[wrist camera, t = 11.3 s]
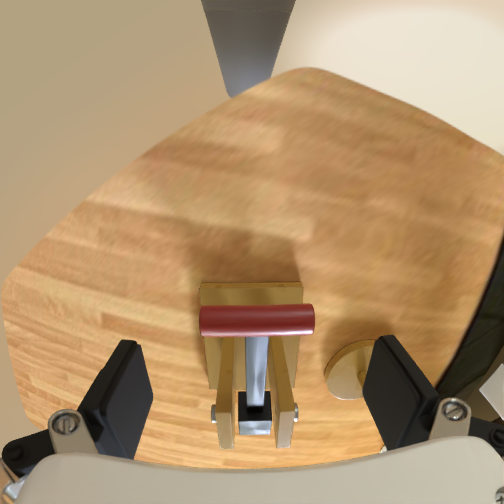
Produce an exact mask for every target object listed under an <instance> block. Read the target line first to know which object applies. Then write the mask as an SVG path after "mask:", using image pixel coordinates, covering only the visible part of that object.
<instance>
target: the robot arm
mask: <svg viewBox="0 0 504 504" xmlns="http://www.w3.org/2000/svg"><path fill="white" fill-rule="evenodd" d="M362 394H363V397H364V399H365V401H366V404H367V406H368V408H369V410H370V412H371V415H372V417H373V419H374V421H375V424H376V426H377V428H378V430H379V433H380V435H381V437H382V439H383V442H384V444H385V446H386V449H387V451H386V452H382V453H377V454H373V455H368V456H363V457H359V458H353V459H348V460H342V461H336V462H329V463H322V464H314V465H305V466H295V467H283V468H264V469H217V468H198V467H186V466H176V465H167V464H159V463H151V462H144V461H138V460H133V459H134V456H135V453H136V450H137V447H138V444H139V440H140V437H141V434H142V431H143V428H144V425H145V422H146V419H147V416H148V413H149V410H150V407H151V404H152V401H153V392H152V388H151V385H150V381H149V377H148V373H147V369H146V365H145V361H144V357H143V352H142V348H141V345H139V344H137V342H136V341H134V340H121V341H120V342H119V344H118V346H117V347H116V349H115V350H114V352H113V354H112V355H111V357H110V358H109V360H108V362H107V363H106V365H105V367H104V368H103V369H102V370H101V371H100V372H99V374H98V375H97V377H96V379H95V380H94V382H93V384H92V385H91V387H90V389H89V390H88V392H87V394H86V395H85V397H84V399H83V400H82V402H81V404H80V406H79V407H78V409H77V411H76V410H73V409H63V410H59V411H57V412H55V413H54V414H53V415H52V416H51V417H50V418H49V421H48V429H46V430H43V431H41V432H38V433H35V434H32V435H29V436H26V437H23V438H19V439H16V440H13V441H11V442H9V443H8V444H7V445H6V446H5V447H4V448H3V451H2V458H0V504H504V426H503V425H500V424H496V423H493V422H489V421H485V420H482V419H478V418H475V417H471V409H470V407H469V406H468V404H467V403H466V402H464V401H463V400H460V399H458V398H447V399H444V400H443V401H441V399H440V398H439V394H438V393H437V391H436V390H435V389H434V387H433V386H432V385H431V383H430V382H429V380H428V379H427V378H426V376H425V375H424V374H423V372H422V371H421V370H420V368H419V367H418V366H417V364H416V363H415V362H414V360H413V359H412V358H411V356H410V355H409V354H408V353H407V351H406V350H405V349H404V347H403V346H402V345H401V344H400V342H399V341H398V340H397V338H396V337H395V336H394V335H385V336H380V337H379V338H378V340H376V341H375V342H374V346H373V350H372V355H371V359H370V362H369V366H368V370H367V374H366V377H365V381H364V385H363V388H362Z"/></svg>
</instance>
